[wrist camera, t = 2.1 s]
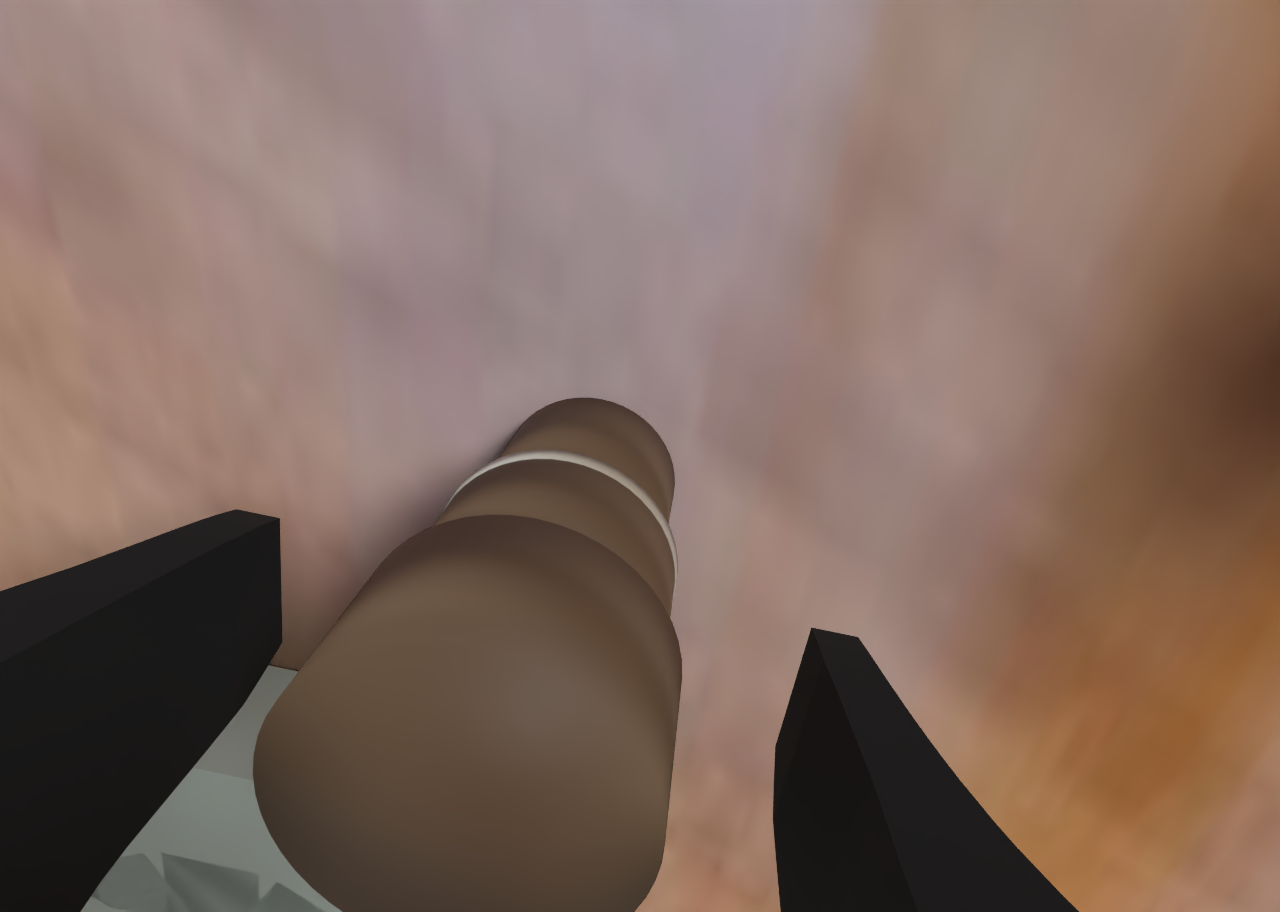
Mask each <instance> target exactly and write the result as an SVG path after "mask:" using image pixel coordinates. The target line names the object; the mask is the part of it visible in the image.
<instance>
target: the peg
mask: <svg viewBox="0 0 1280 912" xmlns="http://www.w3.org/2000/svg"><path fill="white" fill-rule="evenodd" d="M674 486H675V478H674V469H673V464H672V460H671V457H670V454H669V452H668V450H667V448H666V446H665V444H664V442H663V441H662V439H661V438H660V436H659V435H658V433H657V432H656V431H655V430H654V429H653V427H652V426H651V425H649V424H648V423H647V422H646V421H645V420H644V419H643V418H641V417H640V416H639V415H637V414H636V413H634V412H633V411H631V410H629V409H627V408H625V407H623V406H621V405H618V404H616V403H613V402H610V401H606V400H602V399H595V398H573V399H566V400H562V401H558V402H555V403H553V404H550V405H548V406H545V407H544V408H542V409H540V410H538V411H537V412H535V413H534V414H533V415H532V416H530V417H529V418H528V419H527V420H526V421H525V422H524V423H523V424H522V425H521V427H520V428H519V429H518V431H517V432H516V434H515V435H514V437H513V438H512V440H511V441H510V443H509V444H508V446H507V447H506V449H505V450H504V452H503V453H502V455H501V456H500V458H498V459H496V460H493V461H492V462H490V463H488V464H486V465H485V466H483V467H481V468H480V469H478V470H477V471H476V472H474V473H473V474H472V475H470V476H469V477H468V478H467V479H466V480H465V481H464V482H463V483H462V484H461V485H460V486H459V488H458V489H457V491H456V492H455V493H454V495H453V496H452V498H451V499H450V500H449V502H448V503H447V505H446V506H445V508H444V510H443V512H442V514H441V515H440V517H439V518H438V520H437V521H436V522H435V524H434V525H433V527H430V528H428V529H426V530H424V531H422V532H420V533H418V534H416V535H415V536H413V537H411V538H409V539H408V540H406V541H405V542H404V543H403V544H401V545H400V546H399V547H397V548H396V549H395V550H393V552H392V553H391V554H390V555H389V556H388V557H387V558H386V559H385V560H384V561H383V562H382V563H381V564H380V566H379V567H378V568H377V569H376V571H375V572H374V573H373V575H372V576H371V577H370V579H369V580H368V581H367V583H366V584H365V585H364V586H363V588H362V589H361V590H360V592H359V593H358V594H357V596H356V597H355V598H354V600H353V601H352V602H351V603H350V605H349V606H348V607H347V609H346V610H345V611H344V613H343V614H342V615H341V617H340V618H339V619H338V620H337V622H336V623H335V624H334V626H333V627H332V628H331V630H330V631H329V632H328V634H327V635H326V636H325V637H324V639H323V640H322V641H321V643H320V644H319V645H318V647H317V648H316V649H315V651H314V652H313V653H312V654H311V656H310V657H309V658H308V660H307V661H306V662H305V664H304V665H303V666H302V668H301V669H300V670H299V671H298V673H297V674H296V675H295V677H294V678H293V679H292V681H291V682H290V683H289V685H288V686H287V687H286V688H285V690H284V691H283V692H282V694H281V695H280V696H279V698H278V699H277V700H276V702H275V703H274V705H273V706H272V708H271V709H270V711H269V712H268V714H267V715H266V717H265V720H264V722H263V724H262V726H261V729H260V731H259V733H258V737H257V741H256V745H255V750H254V756H253V781H254V789H255V795H256V799H257V802H258V806H259V809H260V813H261V816H262V818H263V820H264V822H265V825H266V827H267V829H268V831H269V834H270V835H271V837H272V839H273V840H274V842H275V843H276V845H277V847H278V848H279V850H280V852H281V853H282V854H283V856H284V857H285V858H286V860H287V861H288V862H289V863H290V865H291V866H292V867H293V868H294V870H295V871H296V872H297V873H298V874H299V875H300V876H301V877H302V878H303V879H304V880H305V881H306V882H307V883H308V884H309V885H310V886H311V887H312V888H313V889H314V890H315V891H316V892H318V893H319V894H320V895H321V896H322V897H323V898H325V899H326V900H327V901H328V902H329V903H331V904H332V905H334V906H335V907H337V908H338V909H339V910H341V911H342V912H634V911H635V910H636V909H637V908H638V906H639V905H640V904H641V903H642V902H643V900H644V899H645V898H646V896H647V895H648V893H649V891H650V889H651V888H652V886H653V884H654V882H655V880H656V878H657V875H658V872H659V869H660V866H661V863H662V859H663V852H664V846H665V838H666V828H667V818H668V809H669V799H670V789H671V779H672V770H673V760H674V750H675V741H676V731H677V721H678V712H679V702H680V692H681V682H682V659H681V653H680V647H679V641H678V638H677V635H676V632H675V629H674V626H673V623H672V621H671V619H670V615H671V607H672V602H673V599H674V595H675V588H676V580H677V573H678V558H677V551H676V545H675V541H674V538H673V535H672V532H671V529H670V527H669V525H668V524H669V518H670V512H671V506H672V500H673V494H674Z"/></svg>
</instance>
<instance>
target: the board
mask: <svg viewBox="0 0 1280 912" xmlns="http://www.w3.org/2000/svg"><path fill="white" fill-rule="evenodd" d="M297 673H298V671H293V670H288V669H284V668H279V667H274V666H269V665H268V667H267V668H266V670H265V672H264V674H263V675H262V677H261V678H260V680H259V682H258V683H257V685H256V686H255V688H254V689H253V691H252V693H251V694H250V696H249V697H248V699H247V700H246V702H245V703H244V705H243V706H242V708H241V709H240V710H239V711H238V713H237V714H236V715H235V716H234V718H233V719H232V720H231V721H230V723H229V724H228V725H227V726H226V728H225V729H224V730H223V731H222V733H221V734H220V735H219V736H218V738H217V739H216V740H215V741H214V742H213V744H212V745H211V746H210V747H209V749H208V750H207V751H206V752H205V754H204V755H203V756H202V757H201V758H200V760H199V761H198V762H197V763H196V765H195V766H194V767H193V768H192V769H191V771H190V772H189V773H188V774H187V775H186V777H185V778H184V779H183V780H182V781H181V783H180V784H179V785H178V786H177V788H176V789H175V790H174V791H173V792H172V794H171V795H170V796H169V797H168V798H167V800H166V801H165V802H164V803H163V804H162V806H161V807H160V808H159V809H158V811H157V812H156V813H155V814H154V815H153V817H152V818H151V819H150V820H149V821H148V823H147V824H146V825H145V826H144V828H143V829H142V830H141V831H140V832H139V834H138V835H137V836H136V837H135V838H134V840H133V841H132V842H131V843H130V844H129V846H128V847H127V848H126V850H125V851H124V852H123V853H122V855H121V856H120V857H119V859H118V860H117V861H116V863H115V864H114V865H113V867H112V868H111V869H110V871H109V872H108V873H107V874H106V876H105V877H104V878H103V880H102V881H101V882H100V884H99V885H98V887H97V888H96V890H95V891H94V893H93V894H92V896H91V897H90V899H89V900H88V902H87V903H86V905H85V906H84V907H83V909H82V910H81V912H342V911H341V910H339V909H338V908H337V907H335V906H334V905H332V904H331V903H329V902H328V901H327V900H326V899H325V898H323V897H322V896H321V895H320V894H319V893H318V892H316V891H315V890H314V889H313V888H312V887H311V886H310V885H309V884H308V883H307V882H306V881H305V880H304V879H303V878H302V877H301V876H300V875H299V874H298V873H297V872H296V871H295V870H294V868H293V867H292V866H291V865H290V863H289V862H288V861H287V860H286V858H285V857H284V856H283V854H282V853H281V852H280V850H279V848H278V847H277V845H276V843H275V842H274V840H273V839H272V837H271V835H270V834H269V831H268V829H267V827H266V825H265V822H264V820H263V818H262V816H261V813H260V809H259V806H258V802H257V799H256V795H255V789H254V781H253V756H254V750H255V745H256V741H257V737H258V733H259V731H260V729H261V726H262V724H263V722H264V720H265V717H266V715H267V714H268V712H269V711H270V709H271V708H272V706H273V705H274V703H275V702H276V700H277V699H278V698H279V696H280V695H281V694H282V692H283V691H284V690H285V688H286V687H287V686H288V685H289V683H290V682H291V681H292V679H293V678H294V677H295V675H296V674H297Z"/></svg>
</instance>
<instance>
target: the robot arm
mask: <svg viewBox="0 0 1280 912" xmlns="http://www.w3.org/2000/svg"><path fill="white" fill-rule="evenodd" d="M281 643H282V607H281V557H280V518H276V517H271V516H266V515H261V514H256V513H251V512H247V511H242V510H237V509H236V510H232V511H229V512H225V513H221V514H218V515H215V516H212V517H209V518H206V519H203V520H200V521H197V522H194V523H191V524H189V525H186V526H183V527H180V528H178V529H175V530H172V531H169V532H167V533H164V534H161V535H159V536H156V537H153V538H151V539H148V540H145V541H143V542H140V543H137V544H134V545H132V546H129V547H126V548H124V549H121V550H118V551H115V552H113V553H110V554H107V555H105V556H102V557H99V558H96V559H94V560H91V561H88V562H86V563H83V564H80V565H77V566H75V567H72V568H69V569H66V570H63V571H60V572H57V573H54V574H51V575H48V576H45V577H42V578H39V579H36V580H33V581H30V582H27V583H24V584H21V585H18V586H15V587H12V588H9V589H6V590H3V591H0V912H81V910H82V909H83V907H84V906H85V905H86V903H87V902H88V900H89V899H90V897H91V896H92V894H93V893H94V891H95V890H96V888H97V887H98V885H99V884H100V882H101V881H102V880H103V878H104V877H105V876H106V874H107V873H108V872H109V871H110V869H111V868H112V867H113V865H114V864H115V863H116V861H117V860H118V859H119V857H120V856H121V855H122V853H123V852H124V851H125V850H126V848H127V847H128V846H129V844H130V843H131V842H132V841H133V840H134V838H135V837H136V836H137V835H138V834H139V832H140V831H141V830H142V829H143V828H144V826H145V825H146V824H147V823H148V821H149V820H150V819H151V818H152V817H153V815H154V814H155V813H156V812H157V811H158V809H159V808H160V807H161V806H162V804H163V803H164V802H165V801H166V800H167V798H168V797H169V796H170V795H171V794H172V792H173V791H174V790H175V789H176V788H177V786H178V785H179V784H180V783H181V781H182V780H183V779H184V778H185V777H186V775H187V774H188V773H189V772H190V771H191V769H192V768H193V767H194V766H195V765H196V763H197V762H198V761H199V760H200V758H201V757H202V756H203V755H204V754H205V752H206V751H207V750H208V749H209V747H210V746H211V745H212V744H213V742H214V741H215V740H216V739H217V738H218V736H219V735H220V734H221V733H222V731H223V730H224V729H225V728H226V726H227V725H228V724H229V723H230V721H231V720H232V719H233V718H234V716H235V715H236V714H237V713H238V711H239V710H240V709H241V708H242V706H243V705H244V703H245V702H246V700H247V699H248V697H249V696H250V694H251V693H252V691H253V689H254V688H255V686H256V685H257V683H258V682H259V680H260V678H261V677H262V675H263V674H264V672H265V670H266V668H267V667H268V665H269V663H270V662H271V660H272V658H273V657H274V655H275V653H276V652H277V650H278V648H279V647H280V645H281ZM773 825H774V838H775V850H776V862H777V873H778V885H779V896H780V907H781V912H1079V911H1078V910H1077V909H1076V908H1075V907H1074V906H1073V905H1072V904H1071V903H1070V902H1069V901H1068V900H1067V899H1066V898H1065V897H1064V896H1063V895H1062V894H1061V893H1060V892H1059V891H1058V890H1057V889H1056V888H1055V887H1054V886H1053V885H1052V884H1051V883H1050V882H1049V881H1048V880H1047V879H1046V878H1045V877H1044V876H1043V874H1042V873H1041V872H1040V871H1039V870H1038V869H1037V868H1036V867H1035V866H1034V865H1033V864H1032V863H1031V862H1030V861H1029V860H1028V859H1027V858H1026V857H1025V855H1024V854H1023V853H1022V852H1021V851H1020V850H1019V849H1018V848H1017V847H1016V846H1015V845H1014V844H1013V843H1012V841H1011V840H1010V839H1009V838H1008V837H1007V836H1006V835H1005V834H1004V832H1003V831H1002V830H1001V829H1000V828H999V827H998V826H997V824H996V823H995V822H994V821H993V820H992V819H991V817H990V816H989V815H988V814H987V813H986V811H985V810H984V809H983V808H982V806H981V805H980V804H979V803H978V802H977V800H976V799H975V798H974V797H973V796H972V794H971V793H970V792H969V791H968V789H967V788H966V787H965V786H964V785H963V783H962V782H961V781H960V780H959V778H958V777H957V776H956V775H955V773H954V772H953V771H952V769H951V768H950V767H949V766H948V764H947V763H946V762H945V760H944V759H943V758H942V756H941V755H940V754H939V752H938V751H937V750H936V748H935V747H934V746H933V744H932V743H931V742H930V740H929V739H928V738H927V736H926V735H925V734H924V732H923V731H922V729H921V728H920V727H919V725H918V724H917V722H916V721H915V720H914V718H913V717H912V715H911V714H910V713H909V711H908V710H907V708H906V707H905V705H904V704H903V703H902V701H901V700H900V698H899V697H898V695H897V694H896V692H895V691H894V689H893V688H892V686H891V685H890V684H889V682H888V681H887V679H886V678H885V676H884V675H883V673H882V672H881V670H880V669H879V667H878V666H877V664H876V663H875V661H874V660H873V658H872V657H871V655H870V654H869V652H868V651H867V649H866V648H865V646H864V645H863V644H862V642H861V641H860V639H859V638H858V637H855V636H850V635H845V634H840V633H835V632H830V631H825V630H820V629H816V628H811V631H810V634H809V638H808V641H807V644H806V647H805V651H804V654H803V657H802V661H801V664H800V667H799V671H798V674H797V677H796V680H795V684H794V687H793V690H792V694H791V697H790V700H789V704H788V707H787V710H786V714H785V717H784V720H783V723H782V727H781V730H780V733H779V737H778V740H777V743H776V747H775V771H774V801H773Z"/></svg>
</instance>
